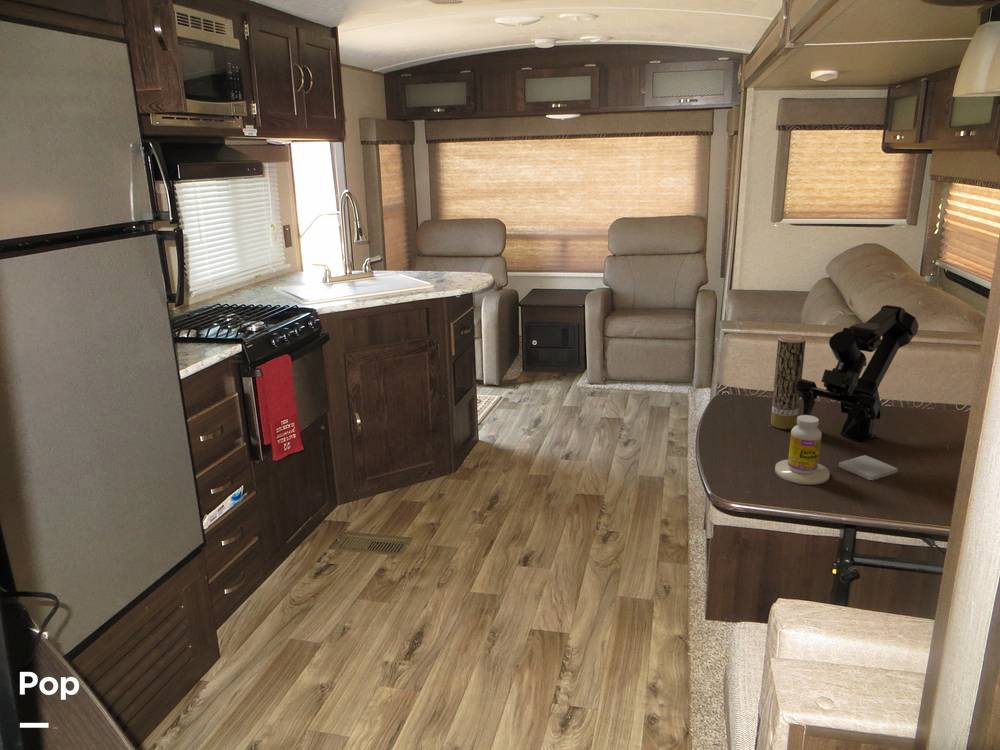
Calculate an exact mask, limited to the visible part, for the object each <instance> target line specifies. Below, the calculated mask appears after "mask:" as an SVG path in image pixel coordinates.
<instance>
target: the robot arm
mask: <svg viewBox="0 0 1000 750" xmlns="http://www.w3.org/2000/svg"><path fill="white" fill-rule="evenodd" d="M918 330H919V323H918V320H917V318H916V316H913V315H912V314H910V313H909V312H907V311H906V310H905V308H904V307H901V306H896V305H889V304H886V305H882V306H881V308H880V310H879V311H877V313H875V314H874V315H872V316H871V318H869V319H868V320H866V321H865V322H861V323H860V322H859V323H855V324H853V325H850V326H849V327H844V328H843V329H842V330H841V331H838V332H835V333H834V334H833V335H832V336H831V337H830V338H829V341H828V344H829V347H830V349H831V352H832V354H833V356H834V358H835V359H836V360H837V363H836V366H835V367H833V369H831V370H829V369H827V368H826V369H824V370H823V371H824V372H823V374H822V378H821V380H820V381H821V383H823V387H824V388H825V389H824V388H819V387H818V386H817V384H816V382H815V381H811V380H807V379H803V378H802V379H800V380H799V381H797V383H796V385H795V389H796V391H797V393H798V395H799V396H800V399H801V400H802V401H803V414H802V415H810V416H811V413H812V411H813V409H814V407H815V404H816V402H815V399H817V398H818V397H821V398H825V399H829V400H832V401H836V402H840V410H841V411H840V412H841V413H842V414H847V417H846V420H845V422H844V424H843V426H842V429H841V431H840V432H839V435H841V436H845V437H847V438H849V439H851V440H853V441H855V442H856V441H857V442H859V443H860V442H865V441H868V440H872V439H876V438H877V437H878V435H877V434H875V433H873V428H874V427H873V425H874V421H875V420H880V419H882V414H883V404H882V402H881V400H880V399H881V397H880V394H879V386H880V385H881V383H882V381H883V379H884V378H885V376H886V374H887V372H888V370H889V368H890V366H891V364H892V362H893V360H894V358H895V356H896V355H897V353H898V351H899V349H900V348H902V347H905V346H907V345H908V344H910V342H911V341H912V339H913V338H914V336H916V335H917V333H918ZM864 352H868V353H873V354H872V356H871V358H870V360H869V362H868V364H867V360H868V359H867V357H866V355H865V353H864ZM864 367H865V369H864ZM863 369H864V371H863ZM862 372H863V373H862ZM861 373H862V375H861ZM860 375H861V376H860Z"/></svg>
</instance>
